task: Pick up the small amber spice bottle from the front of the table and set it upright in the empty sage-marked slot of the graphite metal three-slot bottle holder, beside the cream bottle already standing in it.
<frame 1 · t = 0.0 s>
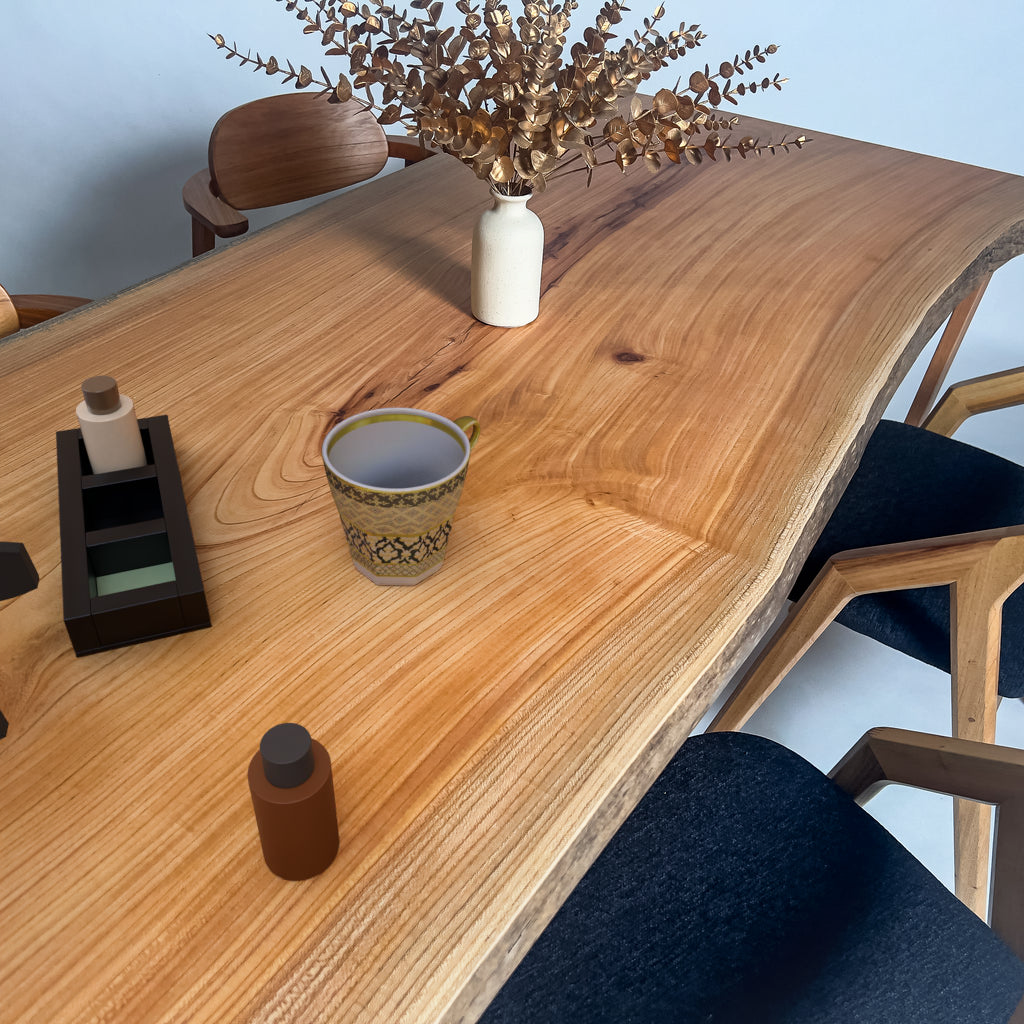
hand: (15, 632, 34), 19 cm above the table, tool horizontal, fingers open, 7 cm apart
cream bottle: (124, 482, 72), resting on holder
spice bottle: (301, 846, 49), on the table
holder: (132, 538, 67), on the table
ceramic cup: (414, 550, 68), on the table
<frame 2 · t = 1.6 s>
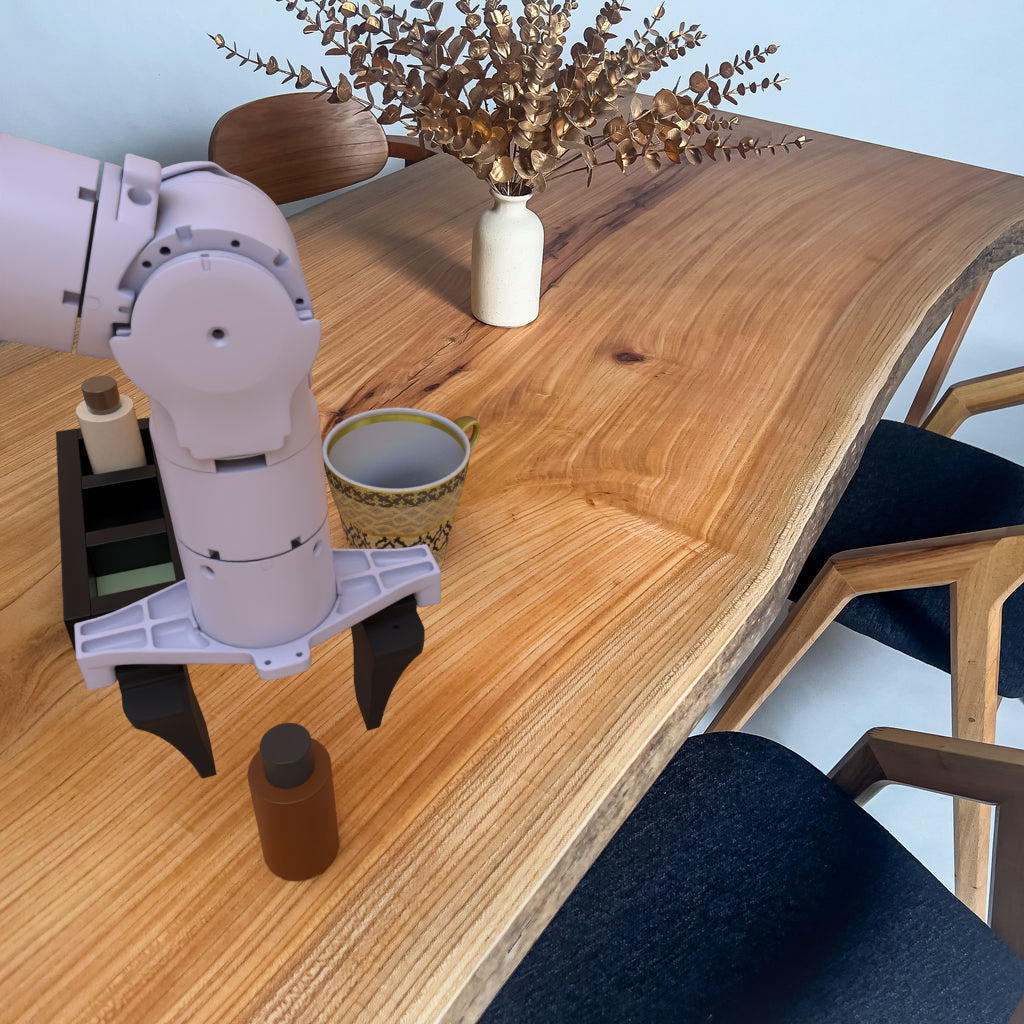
hand: (289, 736, 43), 9 cm above the table, tool pointing down, fingers open, 7 cm apart
nothing on the table moved.
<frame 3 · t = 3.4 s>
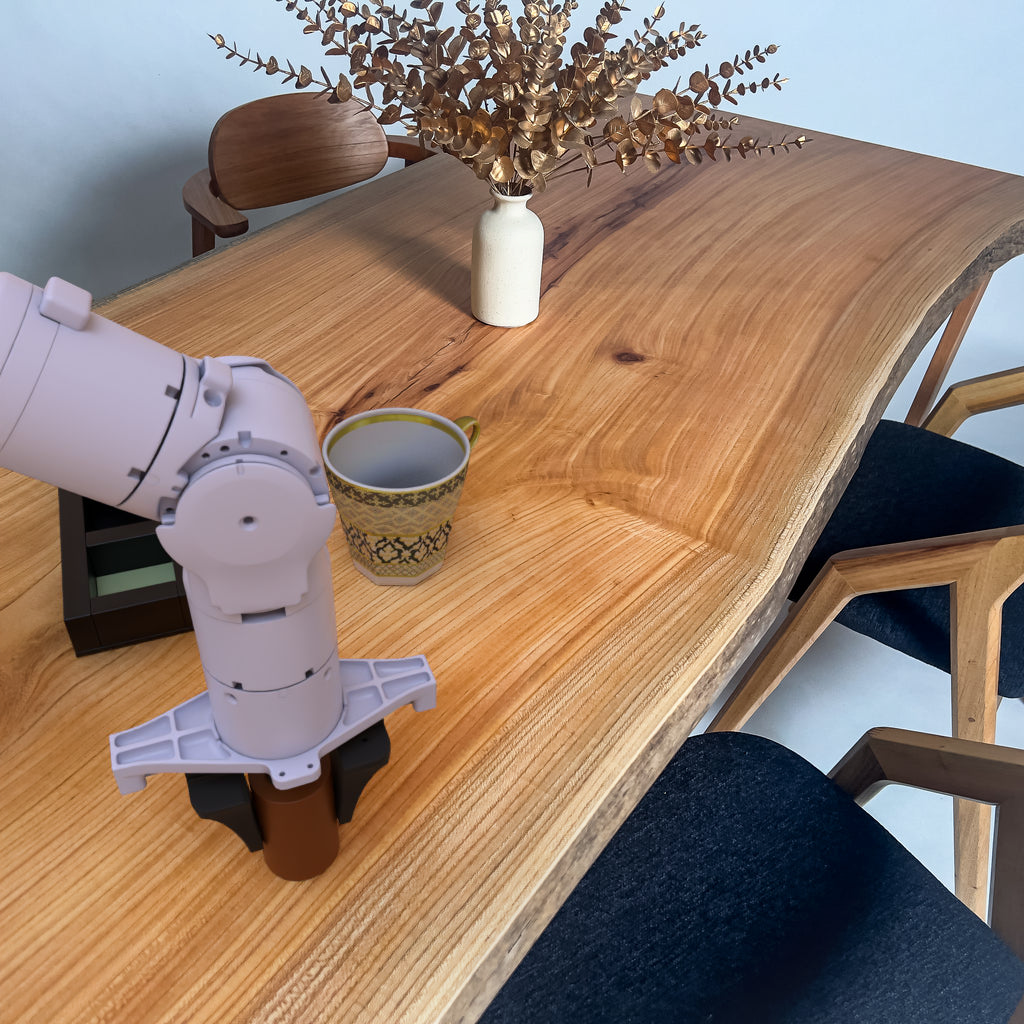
hand: (297, 821, 47), 2 cm above the table, tool pointing down, fingers closed on spice bottle, 4 cm apart
spice bottle: (301, 846, 49), on the table, touching gripper
everything else where it was.
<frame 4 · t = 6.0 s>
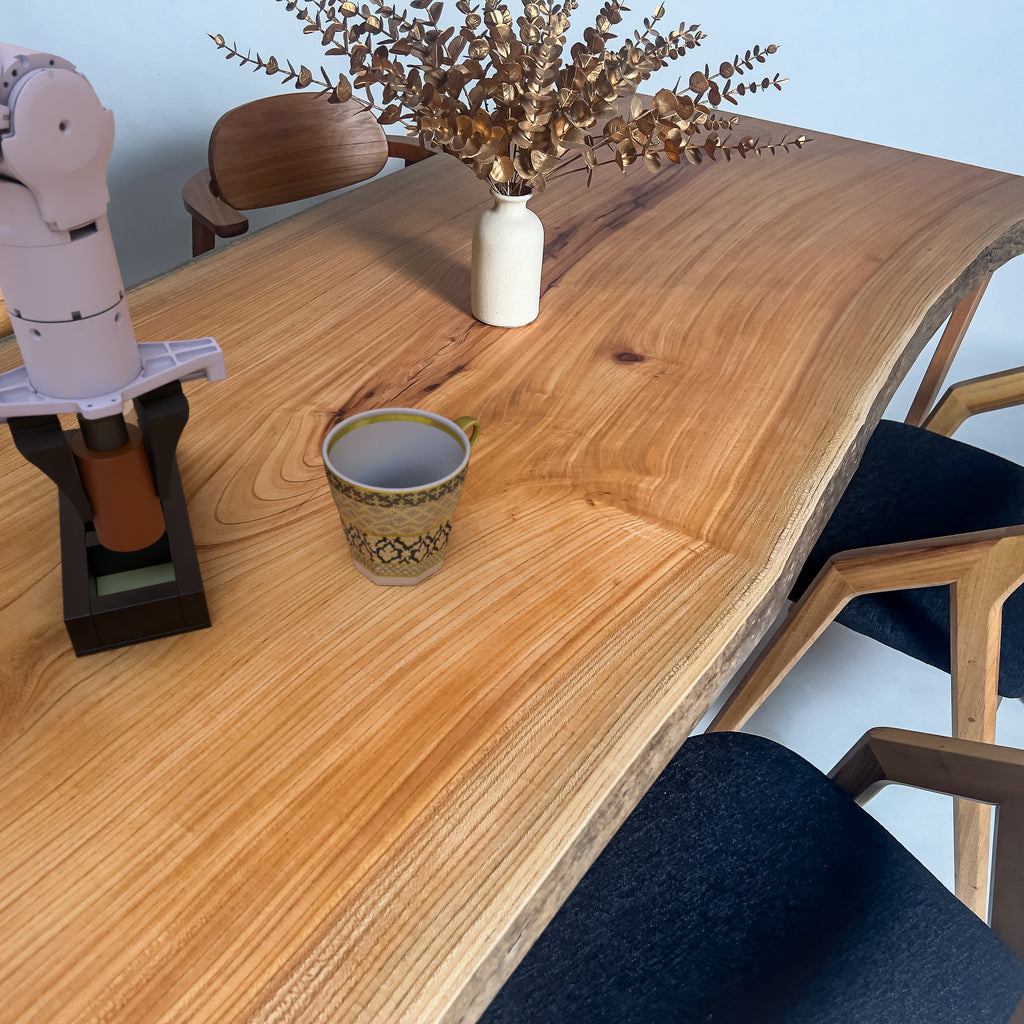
hand: (123, 501, 56), 9 cm above the table, tool pointing down, fingers closed on spice bottle, 4 cm apart
spice bottle: (132, 531, 57), point 7 cm above the table, touching gripper
everything else where it was.
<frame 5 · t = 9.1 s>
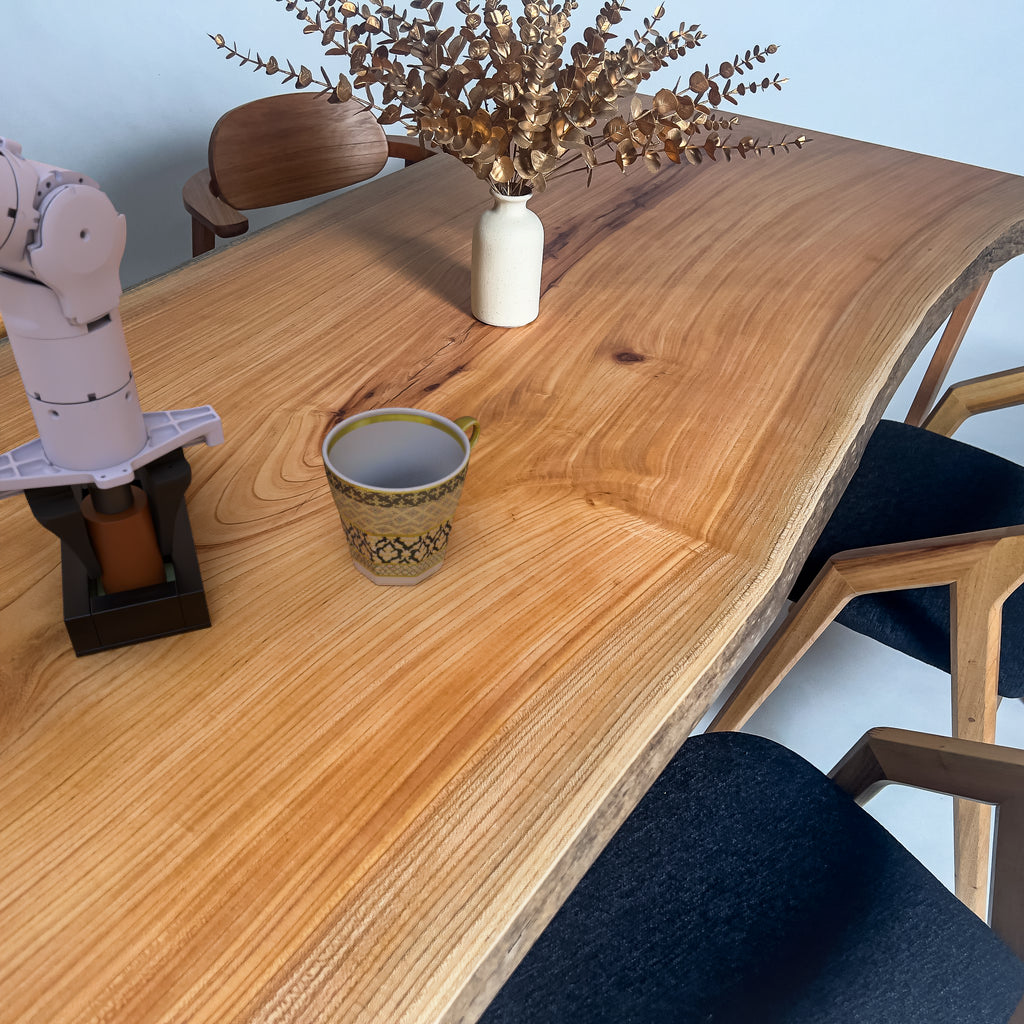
hand: (128, 557, 60), 4 cm above the table, tool pointing down, fingers closed on spice bottle, 4 cm apart
spice bottle: (135, 584, 61), point 1 cm above the table, touching gripper
everything else where it was.
when the fingers open (4 cm above the table, at t = 11.8 s): spice bottle drops 1 cm, resting on holder.
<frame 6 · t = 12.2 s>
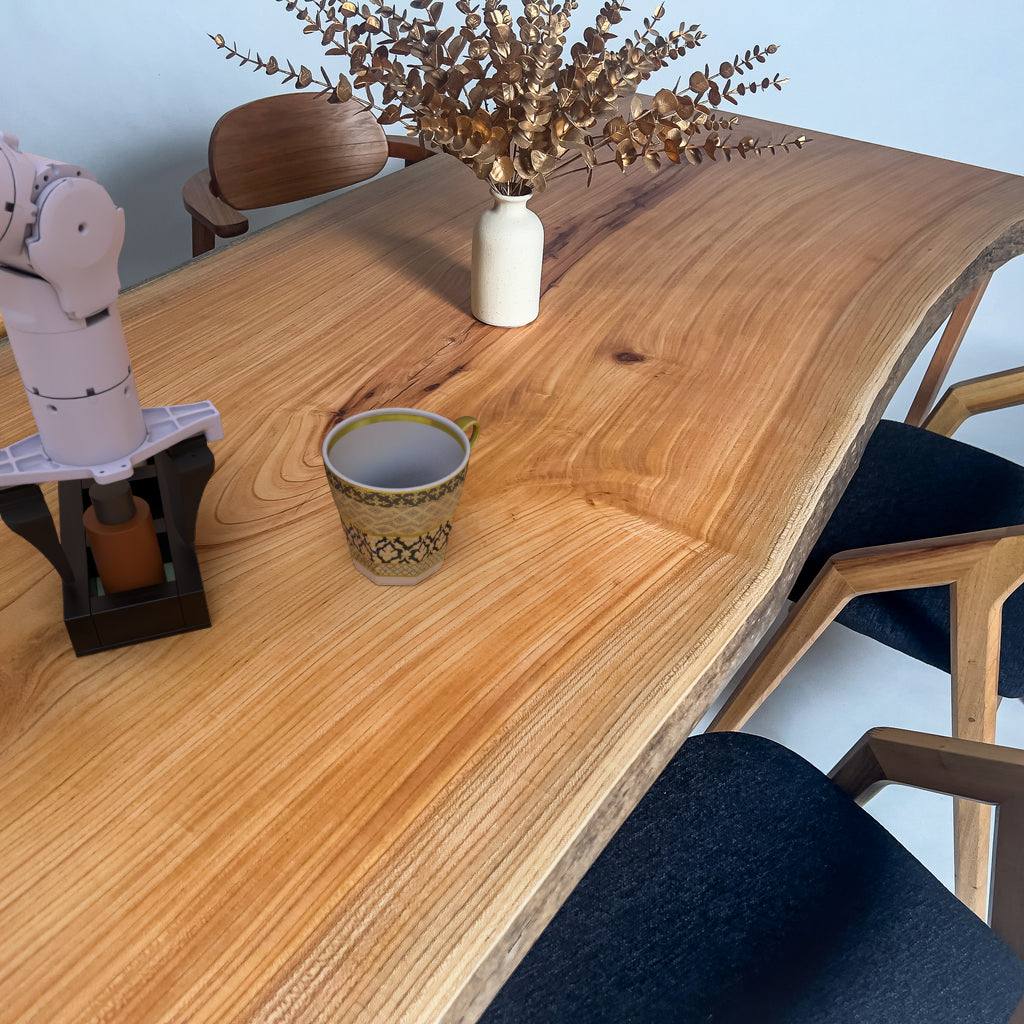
hand: (127, 553, 60), 4 cm above the table, tool pointing down, fingers open, 7 cm apart
spice bottle: (138, 593, 62), point 1 cm above the table, touching holder
everything else where it was.
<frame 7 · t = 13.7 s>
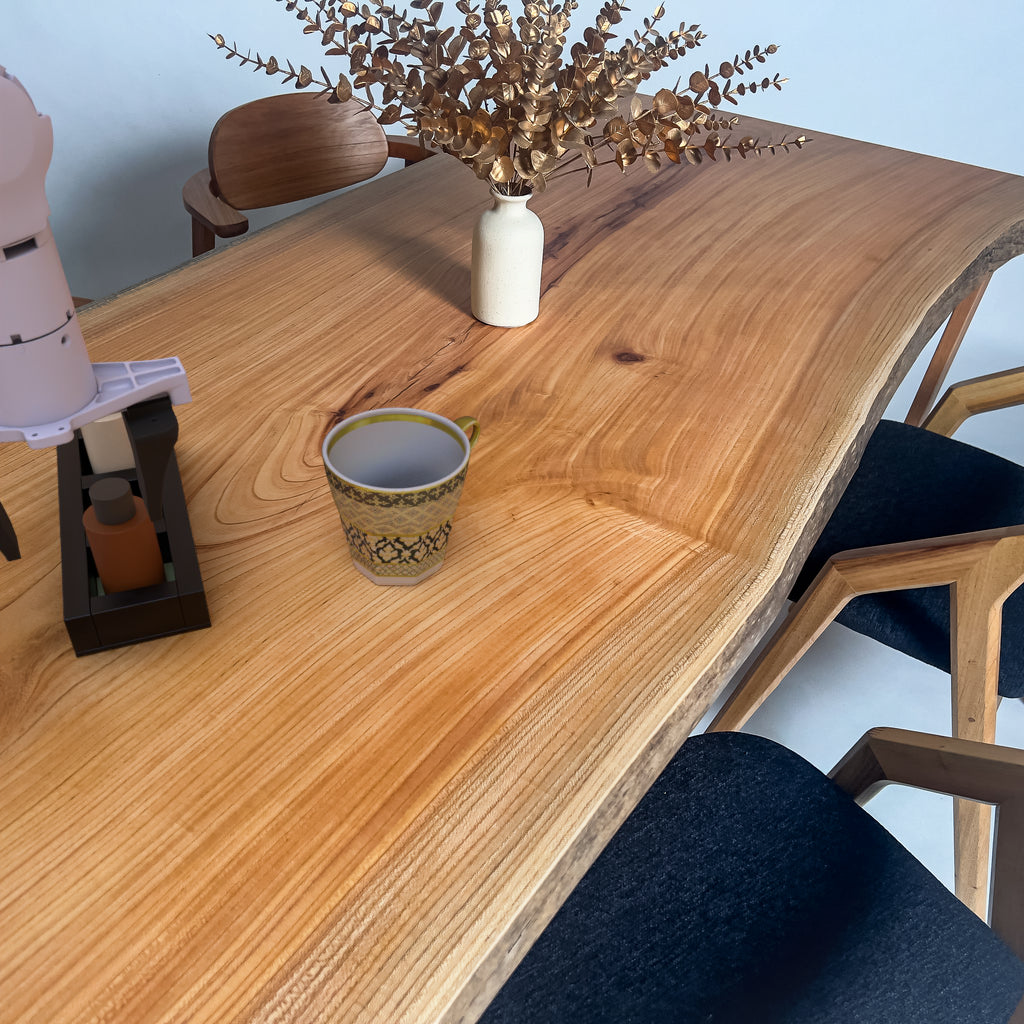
hand: (85, 529, 52), 10 cm above the table, tool pointing down, fingers open, 7 cm apart
nothing on the table moved.
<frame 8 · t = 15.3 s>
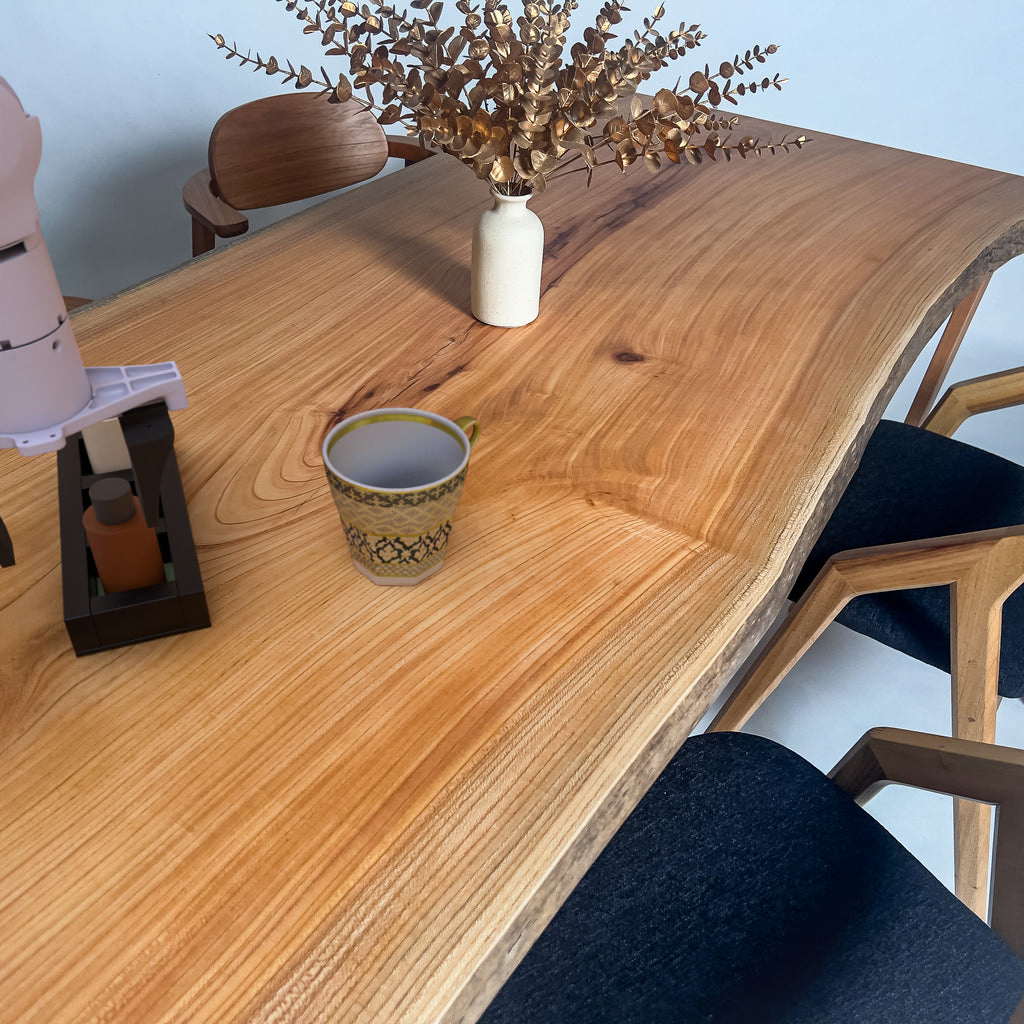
hand: (81, 535, 52), 10 cm above the table, tool pointing down, fingers open, 7 cm apart
nothing on the table moved.
at the end: spice bottle 0.1 cm from the target spot in the holder, point 0.6 cm above the holder's base; spice bottle tilted 0°; the gripper is holding nothing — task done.
